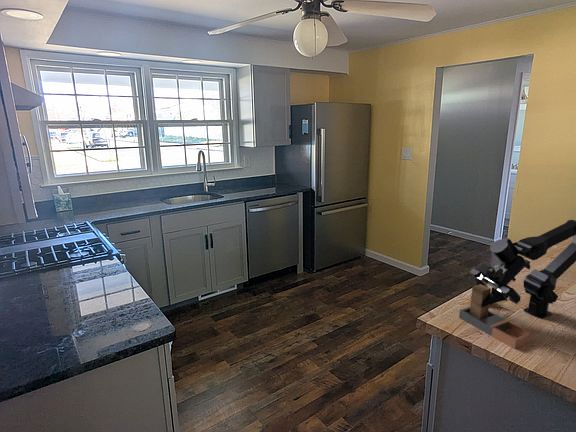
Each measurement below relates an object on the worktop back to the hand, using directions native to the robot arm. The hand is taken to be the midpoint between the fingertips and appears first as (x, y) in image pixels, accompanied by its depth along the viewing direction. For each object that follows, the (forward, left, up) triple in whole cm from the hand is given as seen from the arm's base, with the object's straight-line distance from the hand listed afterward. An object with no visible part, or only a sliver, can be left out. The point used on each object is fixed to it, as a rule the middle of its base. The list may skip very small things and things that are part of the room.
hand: (476, 302), depth 125 cm
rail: (-1, +6, -7) cm, 10 cm away
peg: (-1, 0, -7) cm, 7 cm away
